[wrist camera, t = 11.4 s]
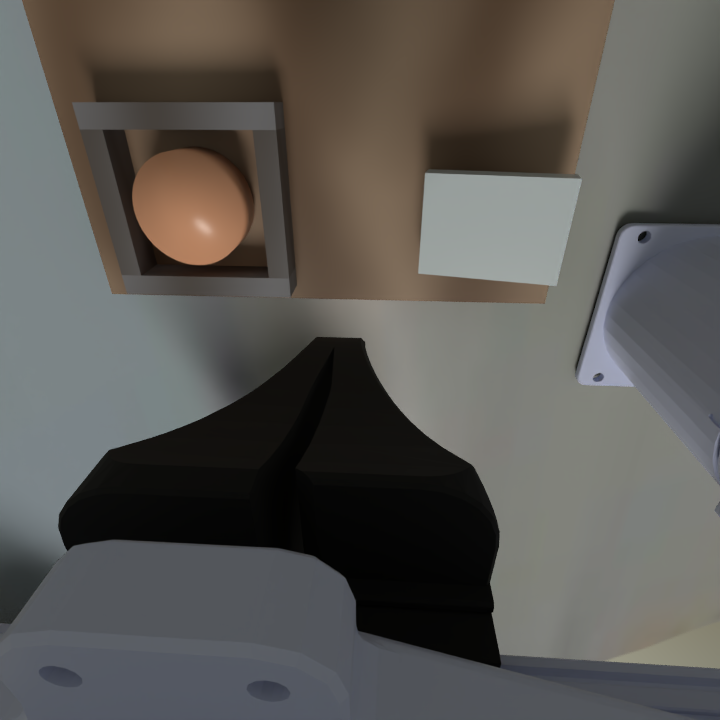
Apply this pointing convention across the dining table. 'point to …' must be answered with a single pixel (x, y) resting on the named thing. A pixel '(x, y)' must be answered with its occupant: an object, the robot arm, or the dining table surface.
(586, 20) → the panel
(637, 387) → the robot arm
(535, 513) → the dining table surface
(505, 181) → the grey flat tile
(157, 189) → the push button
